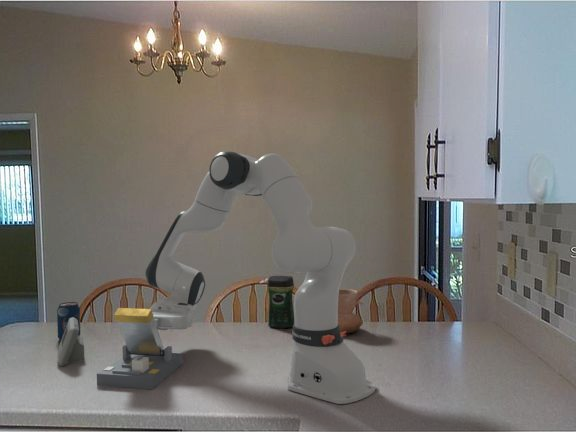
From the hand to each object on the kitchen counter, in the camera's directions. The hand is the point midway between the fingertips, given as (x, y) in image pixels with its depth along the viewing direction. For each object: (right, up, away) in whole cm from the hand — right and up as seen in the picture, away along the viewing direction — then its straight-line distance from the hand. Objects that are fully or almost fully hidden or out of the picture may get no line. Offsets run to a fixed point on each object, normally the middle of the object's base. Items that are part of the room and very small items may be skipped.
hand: (141, 326), depth 124 cm
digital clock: (-26, -13, +13) cm, 32 cm away
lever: (+1, -8, +3) cm, 8 cm away
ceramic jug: (+57, -11, +39) cm, 70 cm away
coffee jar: (+37, -11, +47) cm, 60 cm away
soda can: (-35, -12, +33) cm, 49 cm away
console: (0, -13, 0) cm, 13 cm away
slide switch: (+2, -10, -6) cm, 12 cm away
